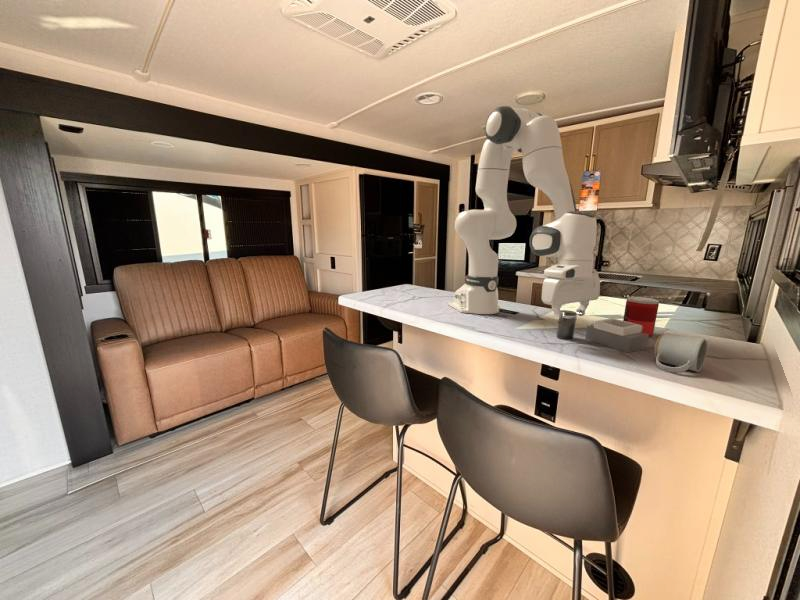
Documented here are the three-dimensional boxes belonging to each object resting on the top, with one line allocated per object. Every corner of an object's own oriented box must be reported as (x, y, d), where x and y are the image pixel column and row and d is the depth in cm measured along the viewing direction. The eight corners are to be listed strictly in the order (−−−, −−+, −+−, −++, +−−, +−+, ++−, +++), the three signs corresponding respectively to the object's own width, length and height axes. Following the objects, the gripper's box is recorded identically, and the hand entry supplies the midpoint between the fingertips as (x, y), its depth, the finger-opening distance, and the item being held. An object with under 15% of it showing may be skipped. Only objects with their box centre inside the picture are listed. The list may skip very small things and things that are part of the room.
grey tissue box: (585, 338, 93) (588, 319, 91) (602, 335, 96) (605, 316, 94) (628, 352, 82) (632, 330, 81) (646, 348, 85) (650, 327, 84)
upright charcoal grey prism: (552, 336, 94) (555, 311, 93) (563, 334, 96) (566, 309, 94) (566, 341, 90) (569, 314, 88) (577, 339, 92) (580, 313, 90)
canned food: (659, 337, 94) (666, 302, 92) (633, 337, 94) (639, 301, 92) (640, 329, 102) (645, 296, 99) (615, 329, 102) (621, 296, 99)
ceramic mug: (661, 356, 80) (666, 327, 78) (704, 367, 73) (711, 336, 71) (645, 366, 74) (650, 336, 72) (690, 380, 67) (698, 346, 66)
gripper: (588, 267, 95) (583, 311, 98) (539, 270, 87) (535, 318, 90) (608, 269, 90) (603, 315, 93) (559, 272, 82) (554, 323, 84)
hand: (569, 317), depth 91 cm, fingers open, 8 cm apart
